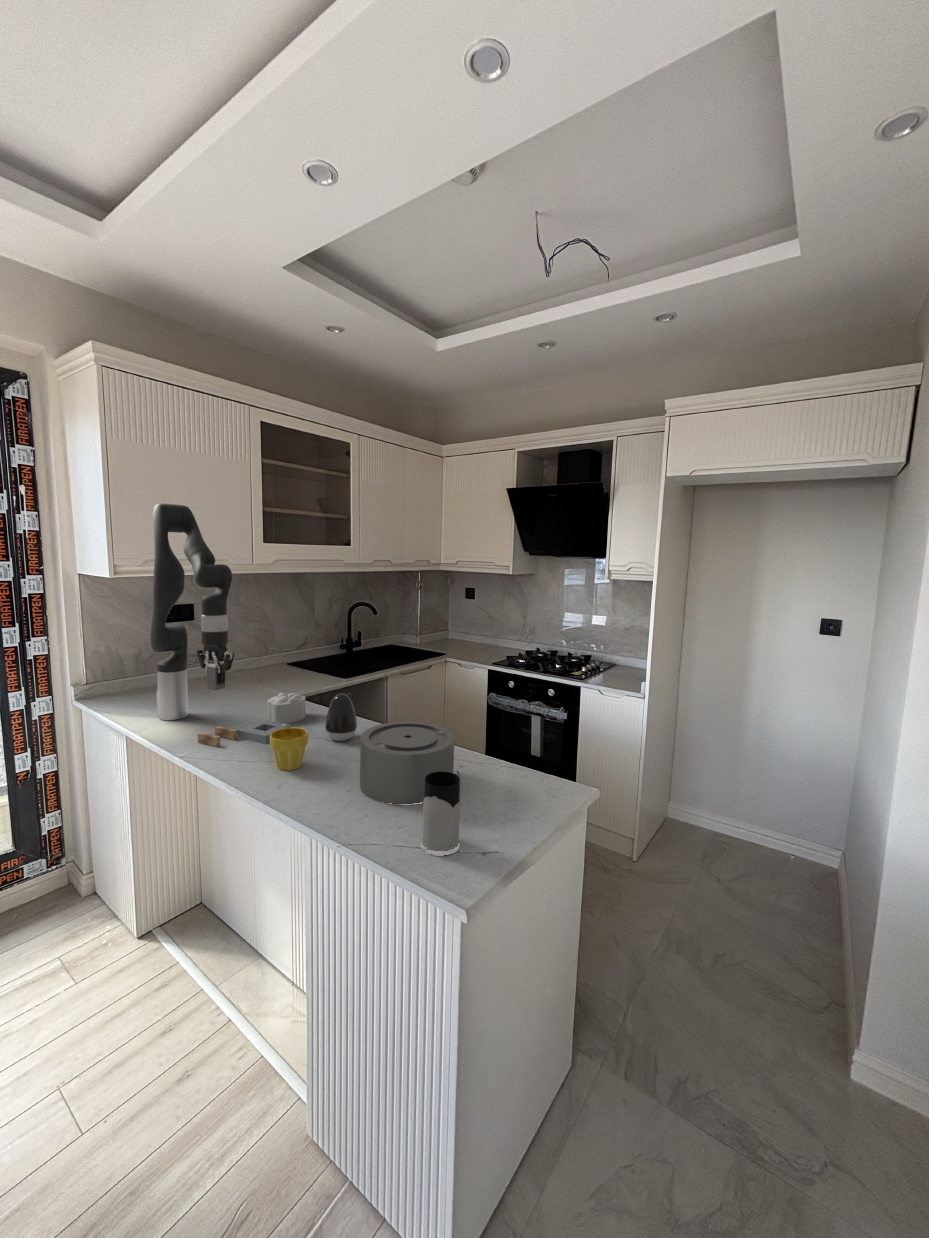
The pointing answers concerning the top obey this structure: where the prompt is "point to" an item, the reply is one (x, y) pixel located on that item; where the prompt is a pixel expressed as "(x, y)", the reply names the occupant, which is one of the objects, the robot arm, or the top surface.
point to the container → (403, 759)
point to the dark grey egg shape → (341, 718)
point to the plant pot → (289, 747)
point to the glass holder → (441, 811)
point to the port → (260, 730)
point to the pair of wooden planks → (217, 736)
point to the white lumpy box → (286, 708)
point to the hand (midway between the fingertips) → (216, 682)
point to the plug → (213, 677)
